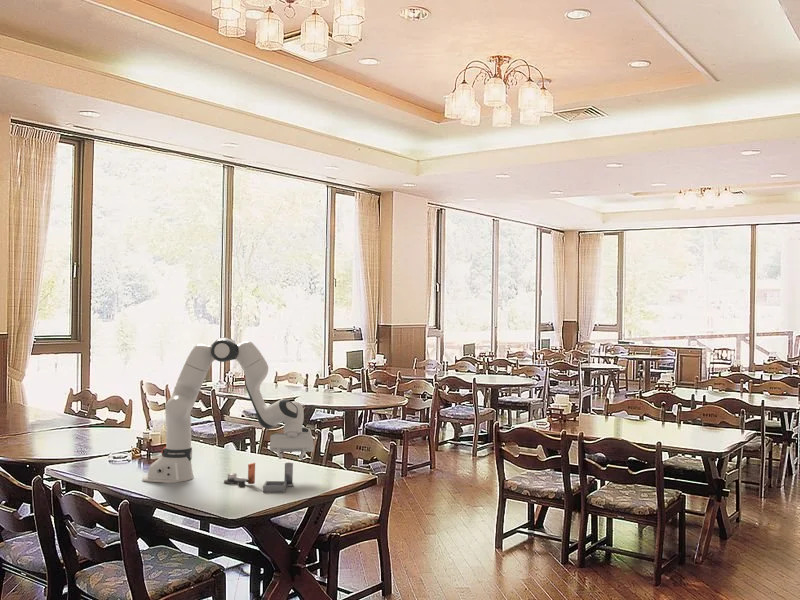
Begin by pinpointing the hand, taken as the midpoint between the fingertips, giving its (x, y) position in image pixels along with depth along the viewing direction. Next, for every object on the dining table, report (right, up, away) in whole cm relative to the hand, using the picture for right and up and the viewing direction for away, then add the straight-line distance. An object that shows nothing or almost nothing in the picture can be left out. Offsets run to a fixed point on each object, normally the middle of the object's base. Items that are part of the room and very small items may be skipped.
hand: (290, 458), depth 347 cm
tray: (-5, -11, -15) cm, 19 cm away
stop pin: (0, -11, -7) cm, 13 cm away
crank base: (-26, -10, -3) cm, 28 cm away
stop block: (-20, -10, -9) cm, 25 cm away
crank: (-22, -9, -5) cm, 24 cm away
